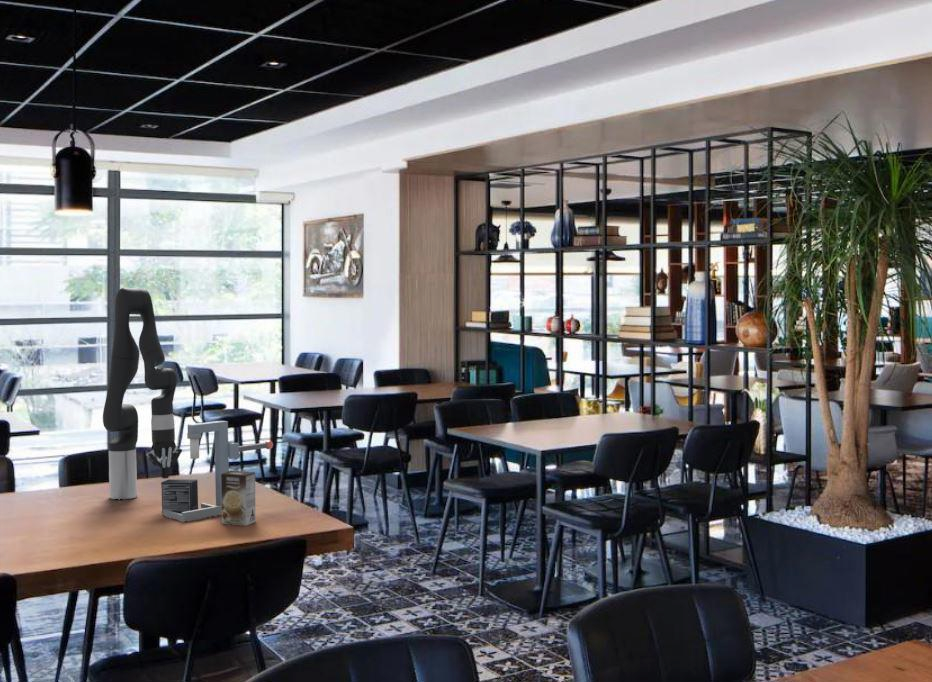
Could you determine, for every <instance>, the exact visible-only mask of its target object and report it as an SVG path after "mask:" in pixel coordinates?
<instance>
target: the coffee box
mask: <svg viewBox="0 0 932 682" xmlns="http://www.w3.org/2000/svg"><path fill="white" fill-rule="evenodd" d="M221 488H222V515H221V524H224V525H231V524H232V525H231V526H233V525H234V526H245V527H246V526H249V525H251V524H253V523H256V521H257V520H256V519H257V518H256V516H257V513H256V472H255V471H243V470H232V469H231V470H229V471H228V472H225V473H222V474H221Z"/></svg>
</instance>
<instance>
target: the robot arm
mask: <svg viewBox="0 0 932 682" xmlns="http://www.w3.org/2000/svg"><path fill="white" fill-rule="evenodd" d="M116 292H117V293H116V296H115V301H114V302H115V303H114V332H113V343H112V351H111V358H110V372H109V377H108V378H109V379H108V387H107V392H106V397H105V402H104V407H103V410H102V411H103V412H102V424H103V426H104V429H105V430H106V431H108V432H110V433H115V432H118V434H117V435H116V436H115V438H113V439H112V440H110V442H108V482H109V484H108V485H109V489H108V491H109V499H110V498H111V500H115V499H118V501H119V500H120V499H123V500H131V499H134V498H137V497H138V477H137V476H138V475H137V474H138V473H137V471H138V470H137V442H138V439H139V414H138V413H139V412H138V411H137V409H136V407H135V406H134V405H133V404H131V403H124V404H123V402H124V398H125V395H126V393H127V392H126V391H127V389H128V388H129V386H130V385H131V384H132V382H133V380H134V378H135V377H136V375H137V374H138V373H137V372H138V369H139V363H140V354H141V356H142V361H143V368H144V384H145V386H146V387H147V388H148V390H151V391H161V390H162V392H161V394H160V395H158V396H155V397H153V398H152V399H151V402H150V403H151V408H150V410H151V421H150V422H151V443H152V444H151V445H152V446H151V449H150V451H148V452H146V453H145V456H146V458H148V460H149V461H150V462H151V463H152V464H153V466H155V467H158V468H159V476H160V477H161V479H166V480H167V479H169V477H170V476H171V472H170V467H171V466H173V465H175V464H176V462H177V460H178V459H179V457H180V455H181V454H182V452H183V449H182V448H179V447H177V444H176V443H175V440H176V436H175V435H176V432H175V429H176V428H175V424H176V423H175V418H174V398H175V393H176V388H177V385H178V375H177V372H176V371H175V370H174V369H173V368H169V367H168V368H167V367H166V368H156V367H159V366H162V364H163V363H164V362H165V361H166V359H165V358H166V357H165V353H164V350H163V347H162V346H161V345H162V344H161V342H160V339H159V335H158V331H157V330H158V329H157V325H156V324H157V323H156V317H155V316H156V315H155V309H154V305H153V299H152V297H151V294H150V292H149V291H148V290H147V289H145V288H140V287H121V288H119V290H117V291H116ZM131 315H139V316H140V317H141V318H140V319H141V320H142V328H141V331H140V335H139V338H138V340H139V341H138V344H137V342H136V340H135V338H134V337H133V335H132V332H131V329H130V316H131ZM138 346H139V347H138Z"/></svg>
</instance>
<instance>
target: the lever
mask: <svg viewBox="0 0 932 682" xmlns="http://www.w3.org/2000/svg"><path fill="white" fill-rule="evenodd" d="M273 446H274V443H273V441H272V440H267V441H265V442H260V443H254V444H252V443H251V444H244V445H239V453H241V452H247V451H249V452H250V451H255V450H263V449H266V450H271V449H272V448H273ZM228 454H229V446H228Z"/></svg>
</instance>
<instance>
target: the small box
mask: <svg viewBox="0 0 932 682" xmlns="http://www.w3.org/2000/svg"><path fill="white" fill-rule="evenodd" d="M198 483H199V482H198V479H166V480H164V481H161V483H160V485H161V487H160V488H161V513H162V514H163V510H165V509H166V510H169V511H172V512H176V513H179V514H182V512H186V511H192V510H197V509H199V486H198Z"/></svg>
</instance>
